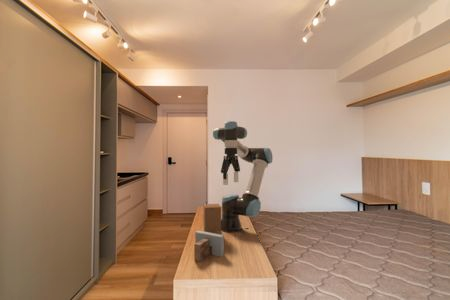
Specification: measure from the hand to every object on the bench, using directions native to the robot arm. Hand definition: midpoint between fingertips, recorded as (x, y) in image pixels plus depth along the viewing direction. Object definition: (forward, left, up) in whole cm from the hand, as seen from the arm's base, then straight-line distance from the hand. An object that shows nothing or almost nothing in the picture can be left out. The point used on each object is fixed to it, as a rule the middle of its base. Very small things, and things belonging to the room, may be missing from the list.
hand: (231, 183), depth 136 cm
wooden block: (-1, -14, -35) cm, 38 cm away
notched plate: (+18, -4, -35) cm, 39 cm away
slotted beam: (+18, -4, -35) cm, 39 cm away
